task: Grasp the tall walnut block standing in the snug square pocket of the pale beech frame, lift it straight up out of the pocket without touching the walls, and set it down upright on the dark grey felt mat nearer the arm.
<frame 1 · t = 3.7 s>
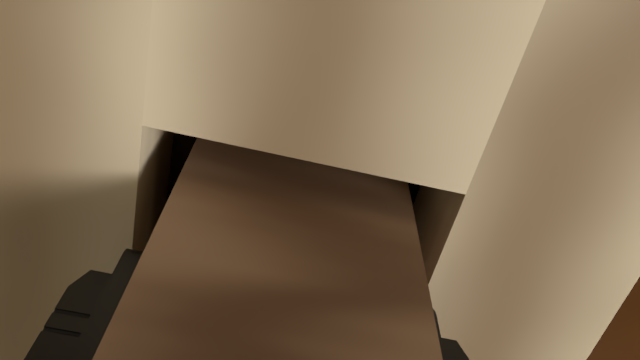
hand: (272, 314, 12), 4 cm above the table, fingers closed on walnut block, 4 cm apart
pocket frame: (288, 206, 15), on the table
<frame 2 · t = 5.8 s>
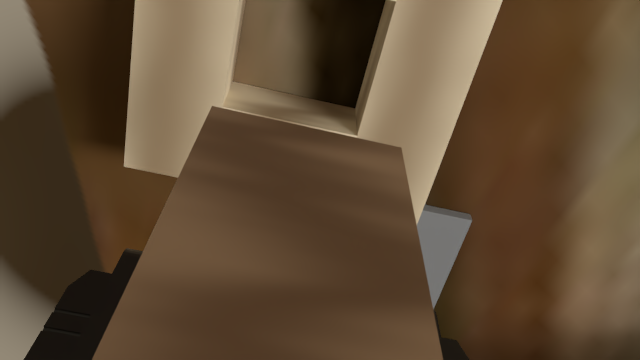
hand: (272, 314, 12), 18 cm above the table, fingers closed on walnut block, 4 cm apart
pocket frame: (307, 35, 27), on the table
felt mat: (366, 262, 34), on the table
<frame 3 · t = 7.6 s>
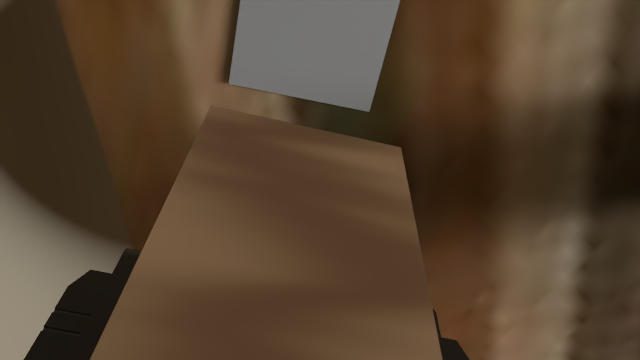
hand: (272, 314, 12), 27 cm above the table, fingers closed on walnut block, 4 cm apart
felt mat: (314, 25, 36), on the table
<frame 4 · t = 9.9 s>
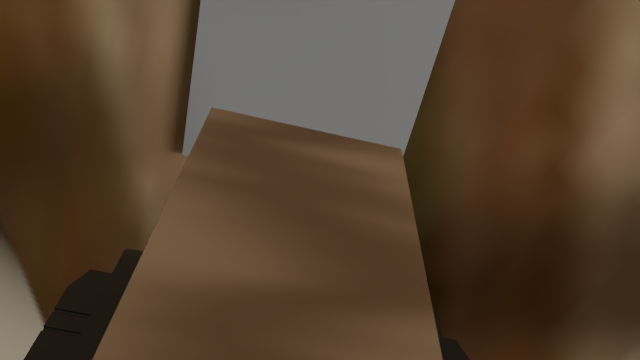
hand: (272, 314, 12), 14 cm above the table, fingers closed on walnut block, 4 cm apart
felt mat: (309, 74, 24), on the table
when the fingers open (5 cm above the table, at t = 11.7 s): walnut block stays where it is, resting on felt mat.
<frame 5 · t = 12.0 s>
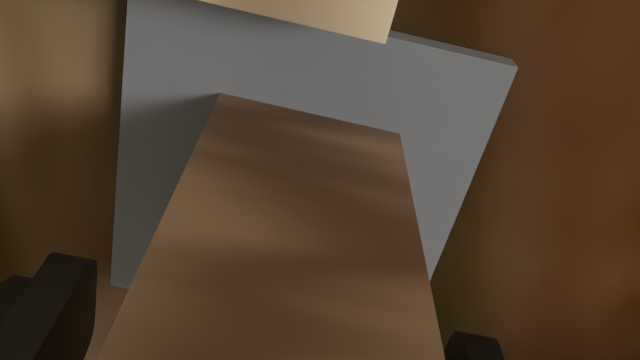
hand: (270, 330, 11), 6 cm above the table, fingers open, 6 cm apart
walnut block: (271, 345, 11), on the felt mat, point 6 cm above the table
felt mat: (291, 177, 16), on the table
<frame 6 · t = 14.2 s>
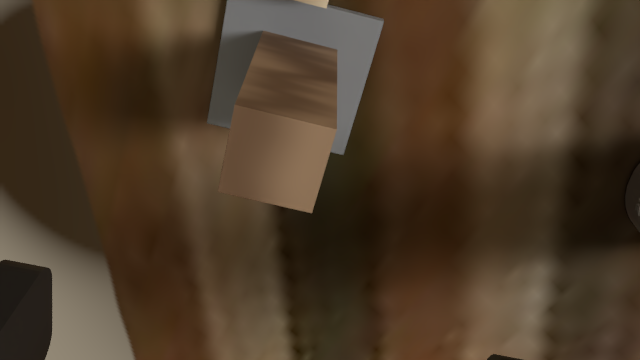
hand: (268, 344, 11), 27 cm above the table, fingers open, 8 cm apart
walnut block: (284, 111, 31), on the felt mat, point 6 cm above the table
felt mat: (291, 71, 37), on the table
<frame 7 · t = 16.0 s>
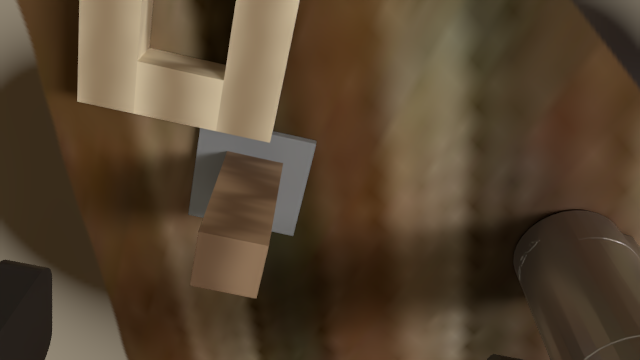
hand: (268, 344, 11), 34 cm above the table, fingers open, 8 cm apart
pocket frame: (195, 17, 42), on the table
walnut block: (240, 218, 43), on the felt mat, point 6 cm above the table
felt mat: (250, 177, 49), on the table
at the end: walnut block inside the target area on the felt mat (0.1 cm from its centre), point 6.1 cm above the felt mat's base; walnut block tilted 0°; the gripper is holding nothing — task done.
